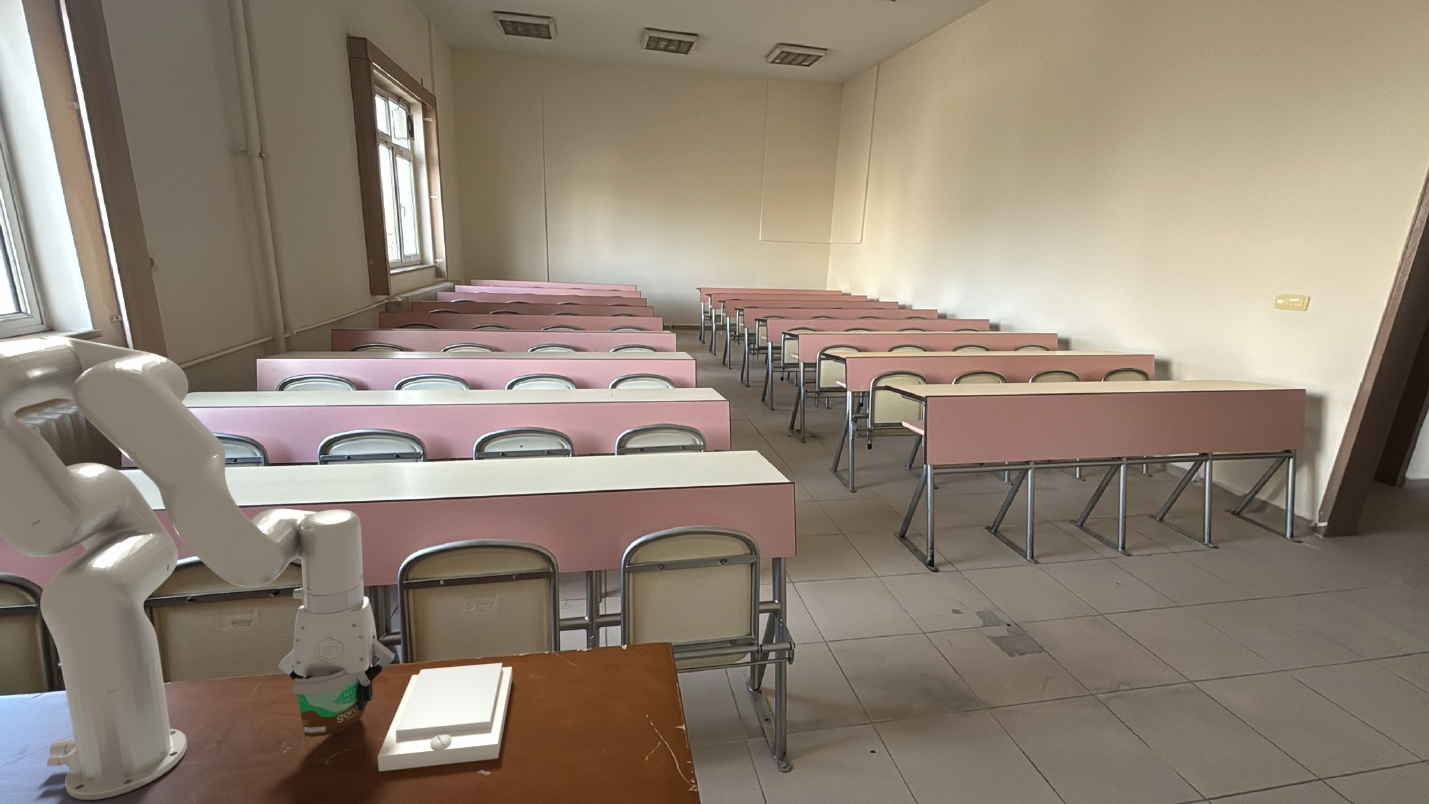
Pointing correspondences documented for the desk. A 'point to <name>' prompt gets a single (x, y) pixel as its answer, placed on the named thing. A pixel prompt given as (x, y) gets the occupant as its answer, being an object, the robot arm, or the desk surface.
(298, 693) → the food container
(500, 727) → the scale
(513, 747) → the desk surface
